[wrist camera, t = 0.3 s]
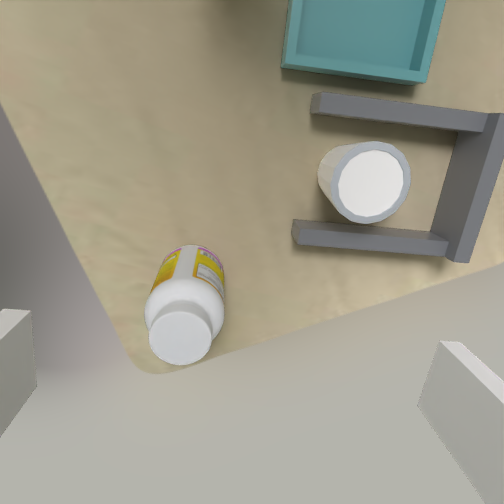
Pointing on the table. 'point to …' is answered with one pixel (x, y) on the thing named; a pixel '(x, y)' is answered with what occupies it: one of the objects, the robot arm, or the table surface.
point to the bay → (453, 192)
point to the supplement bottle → (185, 305)
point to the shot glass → (365, 180)
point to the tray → (363, 38)
